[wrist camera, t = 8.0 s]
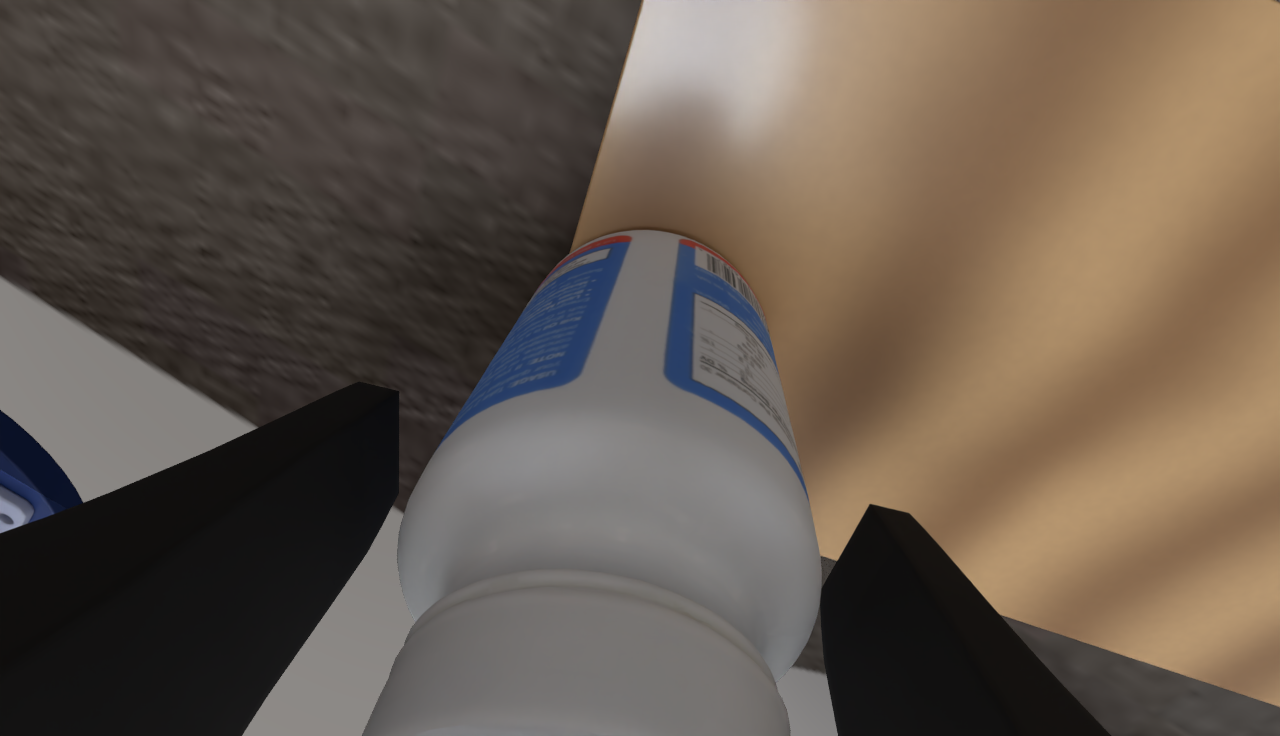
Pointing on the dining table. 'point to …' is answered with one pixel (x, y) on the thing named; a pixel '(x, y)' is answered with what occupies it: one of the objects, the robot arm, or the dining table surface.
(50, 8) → the dining table surface
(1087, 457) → the mat
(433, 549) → the pill bottle
